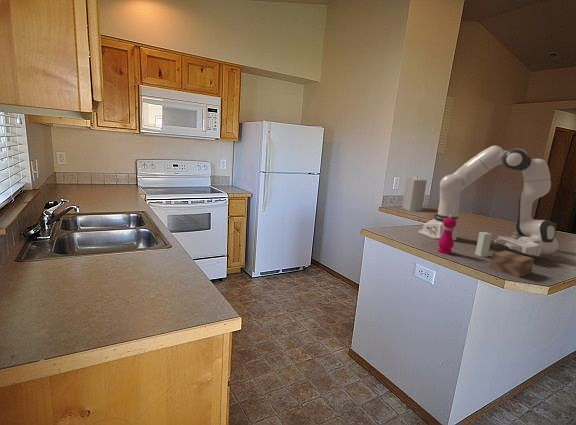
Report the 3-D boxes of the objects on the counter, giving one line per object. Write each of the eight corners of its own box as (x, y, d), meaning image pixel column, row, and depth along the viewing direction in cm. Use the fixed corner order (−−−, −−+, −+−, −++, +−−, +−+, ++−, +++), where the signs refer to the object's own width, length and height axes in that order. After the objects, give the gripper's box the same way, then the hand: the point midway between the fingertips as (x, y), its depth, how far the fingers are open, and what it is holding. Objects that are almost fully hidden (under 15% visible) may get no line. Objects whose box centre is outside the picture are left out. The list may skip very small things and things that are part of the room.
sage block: (474, 254, 167) (479, 232, 165) (481, 254, 167) (486, 232, 165) (480, 256, 163) (484, 234, 161) (487, 256, 164) (492, 234, 161)
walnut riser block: (489, 267, 147) (492, 253, 145) (502, 264, 153) (505, 250, 152) (518, 277, 137) (522, 262, 136) (531, 273, 143) (534, 258, 142)
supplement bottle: (510, 246, 188) (514, 230, 186) (521, 249, 184) (524, 233, 182) (506, 247, 185) (510, 231, 183) (517, 250, 181) (520, 233, 179)
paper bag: (425, 212, 284) (430, 181, 279) (409, 211, 284) (413, 179, 279) (417, 208, 303) (422, 179, 297) (402, 207, 303) (406, 177, 297)
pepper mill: (433, 250, 168) (440, 213, 164) (443, 249, 171) (450, 213, 167) (445, 254, 162) (452, 216, 158) (455, 253, 165) (462, 216, 161)
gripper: (511, 233, 177) (489, 232, 175) (544, 245, 157) (519, 244, 155) (509, 244, 178) (486, 243, 176) (541, 257, 158) (516, 256, 156)
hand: (502, 244), depth 165 cm, fingers open, 8 cm apart
